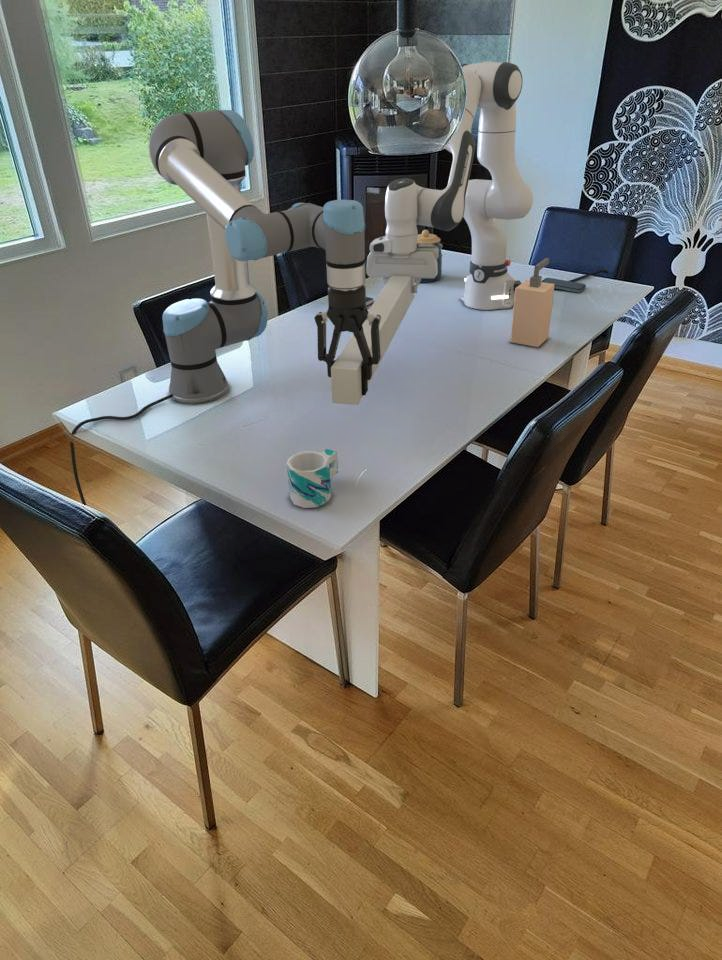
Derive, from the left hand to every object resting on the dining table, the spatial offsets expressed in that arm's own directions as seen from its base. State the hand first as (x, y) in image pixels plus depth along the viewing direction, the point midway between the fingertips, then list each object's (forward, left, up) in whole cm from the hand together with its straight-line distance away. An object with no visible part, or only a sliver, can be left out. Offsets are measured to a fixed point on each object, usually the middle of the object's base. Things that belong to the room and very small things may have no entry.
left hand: (350, 391), depth 145 cm
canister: (+116, +55, -13) cm, 129 cm away
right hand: (+57, +25, +2) cm, 62 cm away
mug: (-20, -6, -13) cm, 25 cm away
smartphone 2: (+131, +6, -13) cm, 132 cm away
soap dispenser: (+80, -6, -13) cm, 81 cm away
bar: (+28, +12, -1) cm, 31 cm away
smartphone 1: (+75, +58, -13) cm, 95 cm away
